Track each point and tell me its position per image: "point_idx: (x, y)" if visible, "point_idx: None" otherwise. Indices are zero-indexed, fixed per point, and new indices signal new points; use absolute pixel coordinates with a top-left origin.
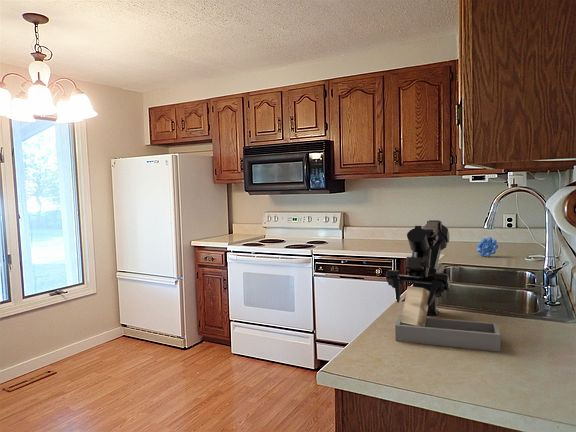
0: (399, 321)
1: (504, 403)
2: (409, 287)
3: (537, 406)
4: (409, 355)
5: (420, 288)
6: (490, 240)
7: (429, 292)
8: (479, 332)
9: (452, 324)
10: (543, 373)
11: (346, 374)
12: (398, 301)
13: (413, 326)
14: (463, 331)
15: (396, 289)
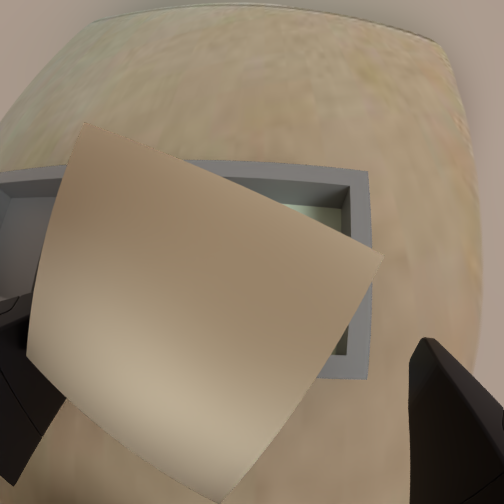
0: (357, 239)
1: (136, 20)
2: (335, 230)
3: (98, 32)
4: (284, 102)
5: (123, 139)
6: None
7: (38, 328)
8: (23, 175)
9: None
10: (19, 120)
11: (399, 32)
12: (417, 348)
13: (270, 170)
14: (63, 166)
15: (502, 419)
